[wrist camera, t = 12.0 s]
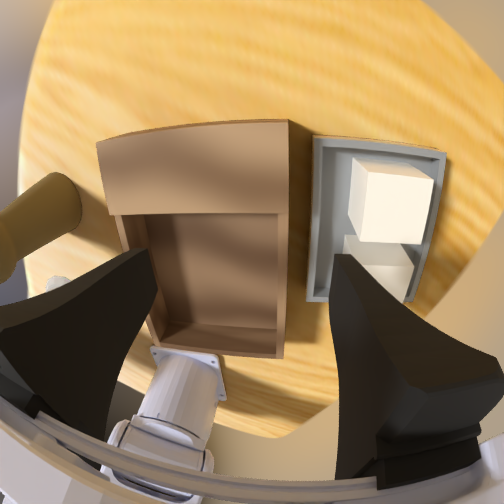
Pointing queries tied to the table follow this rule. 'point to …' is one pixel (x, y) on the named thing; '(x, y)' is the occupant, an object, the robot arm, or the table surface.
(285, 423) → the table surface
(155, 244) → the walnut box
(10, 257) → the cork
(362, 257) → the cube
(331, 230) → the slate dish
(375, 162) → the cube
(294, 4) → the table surface
